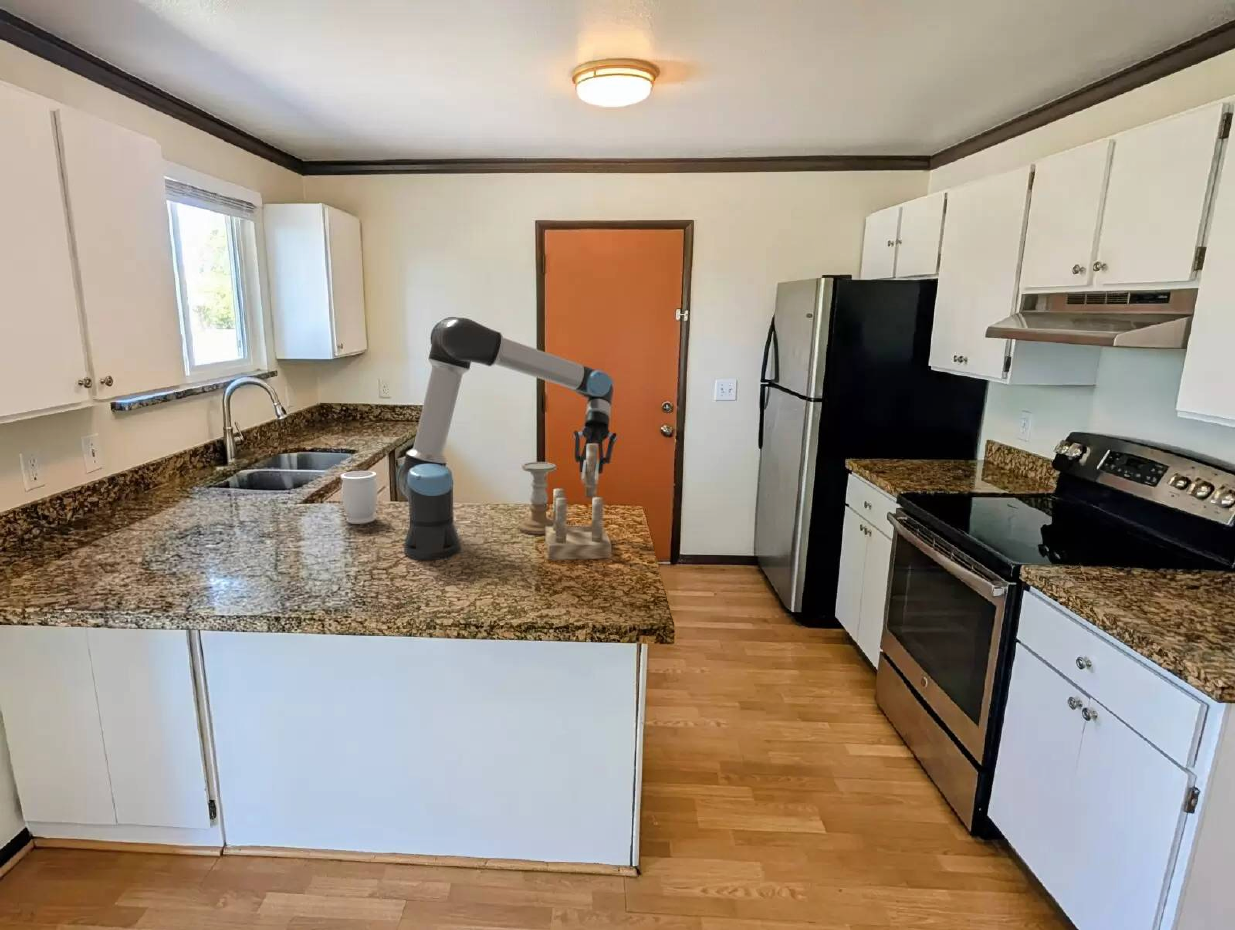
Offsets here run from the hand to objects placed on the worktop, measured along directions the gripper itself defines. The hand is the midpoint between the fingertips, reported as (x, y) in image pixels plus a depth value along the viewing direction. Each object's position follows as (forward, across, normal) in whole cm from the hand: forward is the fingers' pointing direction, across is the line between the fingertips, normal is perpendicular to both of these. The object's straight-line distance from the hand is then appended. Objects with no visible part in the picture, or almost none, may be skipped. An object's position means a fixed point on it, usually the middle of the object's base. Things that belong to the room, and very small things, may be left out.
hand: (589, 481), depth 195 cm
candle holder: (+8, +16, -17) cm, 25 cm away
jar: (+10, +73, -16) cm, 75 cm away
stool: (+19, +2, -6) cm, 20 cm away
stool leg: (+1, 0, -7) cm, 7 cm away
